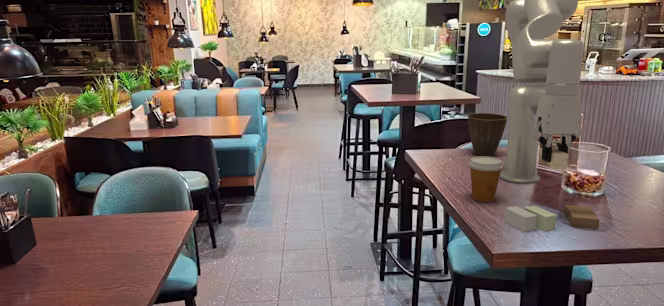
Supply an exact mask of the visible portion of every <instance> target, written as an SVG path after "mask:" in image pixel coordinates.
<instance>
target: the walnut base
mask: <svg viewBox="0 0 664 306" xmlns="http://www.w3.org/2000/svg"><path fill="white" fill-rule="evenodd" d="M563 208H564V209H563V216H564V217H565V219H566V220H567V221H568V224H569V225H570V227H571V228H578V229H579V228H581V229H591V230H599V227H600V220H601V219H600V218H599V217H598V215H597V214H596V213H595V212H594V210H593V209H592V208H591V207H590V206H587V205H574V204H573V205H572V204H564V207H563Z"/></svg>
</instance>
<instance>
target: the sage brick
mask: <svg viewBox="0 0 664 306" xmlns="http://www.w3.org/2000/svg"><path fill="white" fill-rule="evenodd" d="M524 210H526V211H528V212H530V213H533V214H535V215H537V219H536V228H535V229H539V230H540V231H543V232H548V231H554V230H556V224H557V218H558V217H557V214H556V213H553V212H551V211H549V210H547V209H544V208H542V207H540V206H537V205H530V206H525V207H524Z"/></svg>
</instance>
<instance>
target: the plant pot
mask: <svg viewBox="0 0 664 306" xmlns="http://www.w3.org/2000/svg"><path fill="white" fill-rule="evenodd" d="M467 121H468V131H469V136H470V137H469V138H470V142H471V147H472V150H473V153H474V156H476V157H478V156H487V157H494V155H495V154H496V151H497V149H498V148H499V145H500V142H501V140H502V138H503V135H504V132H505V129H506V125H507V121H508V116H506V115H504V114H503V115H502V114H497V113H488V112H487V113H486V112H484V113H483V112H482V113H481V112H480V113H479V112H478V113H470V114H468V115H467Z"/></svg>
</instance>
